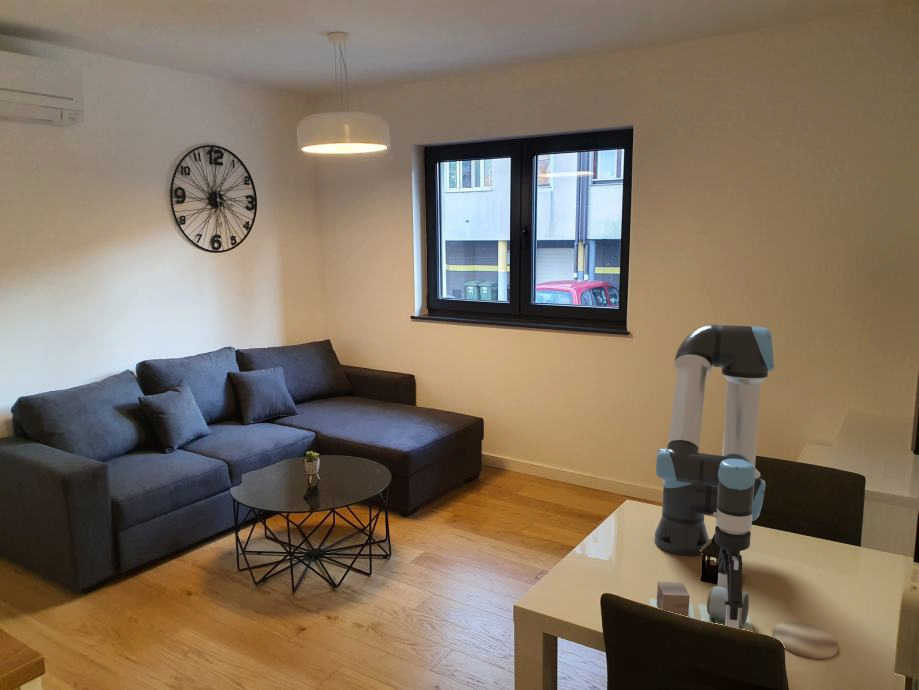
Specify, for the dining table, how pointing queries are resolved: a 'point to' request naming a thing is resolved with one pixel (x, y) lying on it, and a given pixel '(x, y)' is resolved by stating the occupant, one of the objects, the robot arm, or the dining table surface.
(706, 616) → the plate
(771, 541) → the dining table surface
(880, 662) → the dining table surface
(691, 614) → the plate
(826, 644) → the coaster
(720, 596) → the ceramic mug
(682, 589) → the walnut block
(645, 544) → the dining table surface
